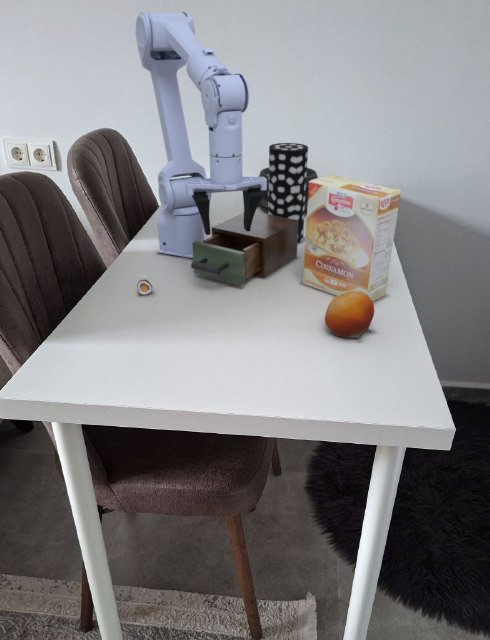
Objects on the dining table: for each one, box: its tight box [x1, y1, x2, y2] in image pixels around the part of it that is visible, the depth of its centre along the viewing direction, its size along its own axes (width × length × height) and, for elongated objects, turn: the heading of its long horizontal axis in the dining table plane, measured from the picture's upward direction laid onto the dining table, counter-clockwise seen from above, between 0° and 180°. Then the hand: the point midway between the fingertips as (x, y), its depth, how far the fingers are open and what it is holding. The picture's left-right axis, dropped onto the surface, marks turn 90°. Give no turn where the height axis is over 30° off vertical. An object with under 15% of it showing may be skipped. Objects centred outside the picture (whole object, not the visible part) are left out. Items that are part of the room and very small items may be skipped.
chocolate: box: [136, 274, 154, 296], centre depth 107 cm, size 3×2×4 cm
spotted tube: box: [267, 142, 309, 244], centre depth 127 cm, size 8×8×20 cm
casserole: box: [258, 166, 319, 211], centre depth 154 cm, size 25×19×8 cm
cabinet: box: [211, 211, 299, 279], centre depth 119 cm, size 14×13×8 cm
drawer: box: [190, 233, 262, 287], centre depth 112 cm, size 17×11×6 cm
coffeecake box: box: [302, 174, 402, 303], centre depth 104 cm, size 15×7×20 cm, turn 46°
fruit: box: [324, 291, 375, 340], centre depth 94 cm, size 8×8×8 cm
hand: (227, 231), depth 107 cm, fingers open, 7 cm apart
